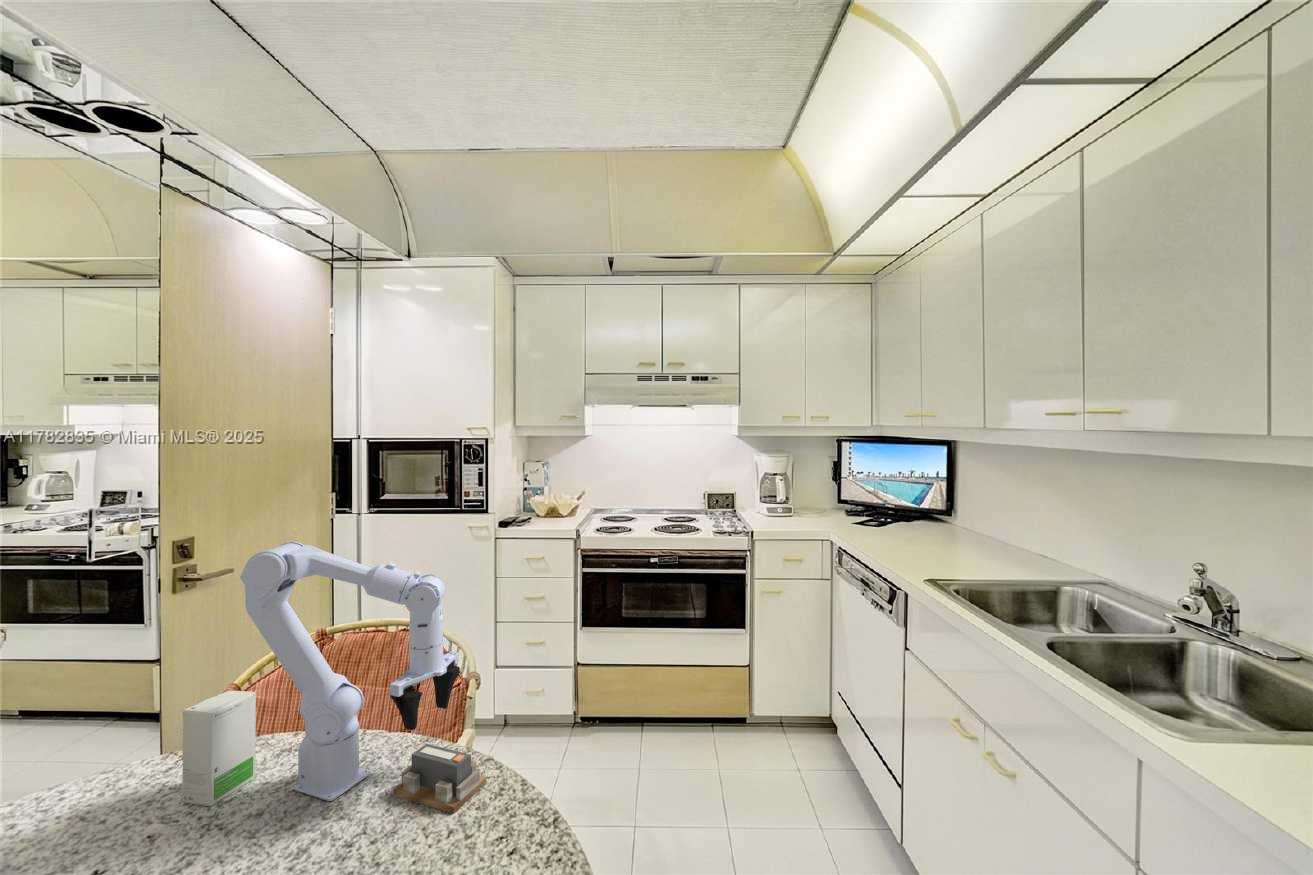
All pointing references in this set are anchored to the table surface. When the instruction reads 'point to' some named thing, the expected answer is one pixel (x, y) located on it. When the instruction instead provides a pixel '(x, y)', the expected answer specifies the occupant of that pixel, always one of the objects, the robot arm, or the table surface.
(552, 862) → the table surface
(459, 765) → the grey rectangular block
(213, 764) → the skincare box
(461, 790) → the mounting board
